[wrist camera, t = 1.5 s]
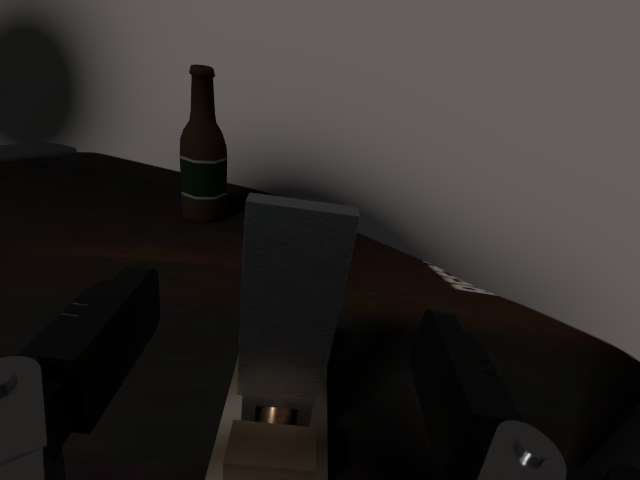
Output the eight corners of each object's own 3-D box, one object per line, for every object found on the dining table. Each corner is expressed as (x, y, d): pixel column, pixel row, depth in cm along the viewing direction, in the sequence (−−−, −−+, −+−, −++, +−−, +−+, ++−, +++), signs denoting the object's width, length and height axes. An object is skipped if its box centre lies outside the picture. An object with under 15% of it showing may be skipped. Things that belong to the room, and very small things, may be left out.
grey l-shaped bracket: (310, 444, 29) (359, 216, 19) (234, 437, 28) (245, 201, 19) (312, 382, 34) (352, 178, 24) (248, 375, 34) (262, 165, 24)
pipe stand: (326, 538, 25) (339, 498, 22) (194, 528, 24) (191, 486, 22) (324, 256, 57) (329, 226, 55) (268, 249, 57) (270, 218, 54)
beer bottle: (192, 228, 59) (186, 68, 47) (174, 209, 64) (164, 59, 52) (235, 219, 64) (239, 72, 52) (214, 202, 69) (214, 64, 57)
